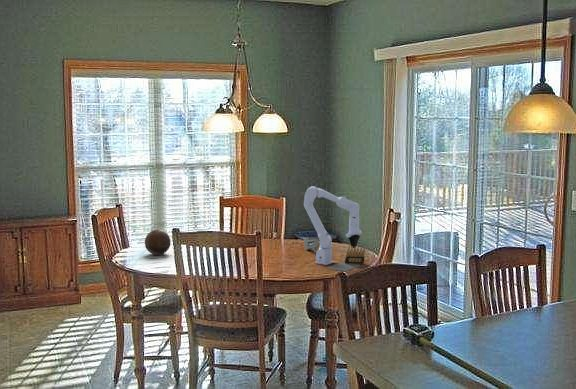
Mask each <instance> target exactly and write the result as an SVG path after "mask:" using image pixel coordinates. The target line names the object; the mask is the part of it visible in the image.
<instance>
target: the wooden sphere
mask: <svg viewBox="0 0 576 389" xmlns="http://www.w3.org/2000/svg"><path fill="white" fill-rule="evenodd" d="M144 245H145V247H144V248H145V249H146V250H147V252H148V253H149V254H152V255H155V256H160V255H163V254H165V253H166V252H168V251H169V249H170V247H171V238H170V236H169V234H168V233H167V232H166V231H164V230H162V229H154V230H151V231H149V233H148V234H147V235H146V236H145V238H144Z"/></svg>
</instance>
